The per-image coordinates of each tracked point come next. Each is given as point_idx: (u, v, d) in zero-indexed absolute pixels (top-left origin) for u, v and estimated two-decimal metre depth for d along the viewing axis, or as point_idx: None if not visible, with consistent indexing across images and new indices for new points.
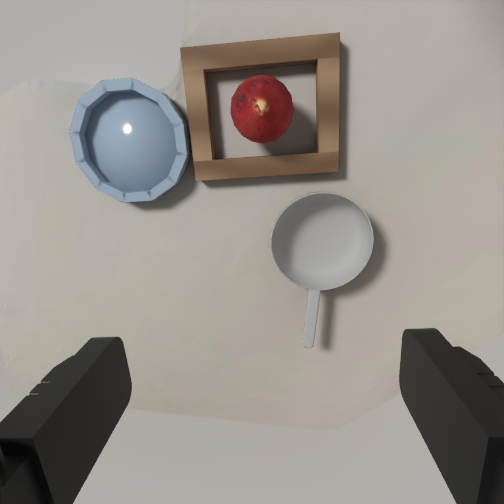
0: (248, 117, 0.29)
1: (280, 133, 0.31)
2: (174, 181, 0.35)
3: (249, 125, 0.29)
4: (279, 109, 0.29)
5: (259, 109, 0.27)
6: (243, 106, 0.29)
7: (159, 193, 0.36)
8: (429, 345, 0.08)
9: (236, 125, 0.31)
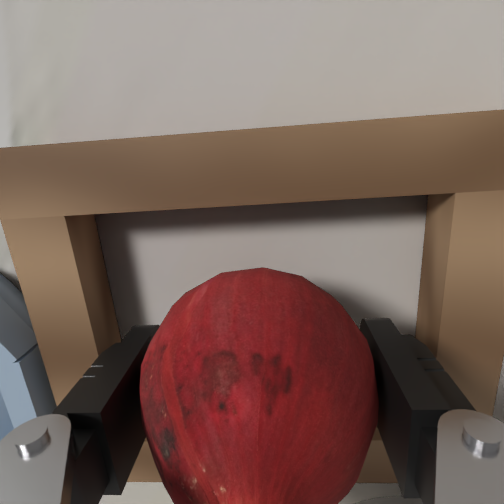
0: None
1: None
2: None
3: None
4: (339, 490, 0.06)
5: None
6: (170, 480, 0.06)
7: None
8: (379, 333, 0.09)
9: None
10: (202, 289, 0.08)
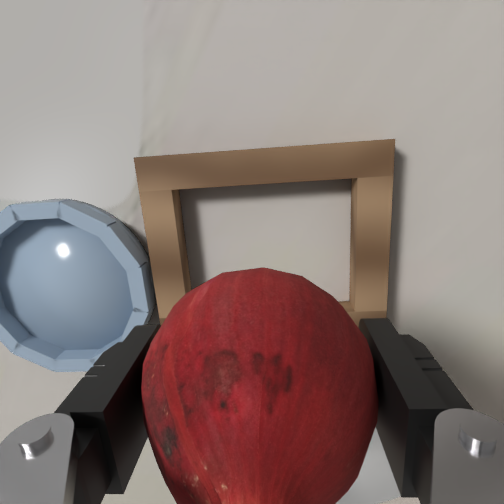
0: None
1: None
2: None
3: None
4: (339, 488, 0.06)
5: None
6: (172, 478, 0.06)
7: None
8: (377, 332, 0.09)
9: None
10: (203, 289, 0.08)
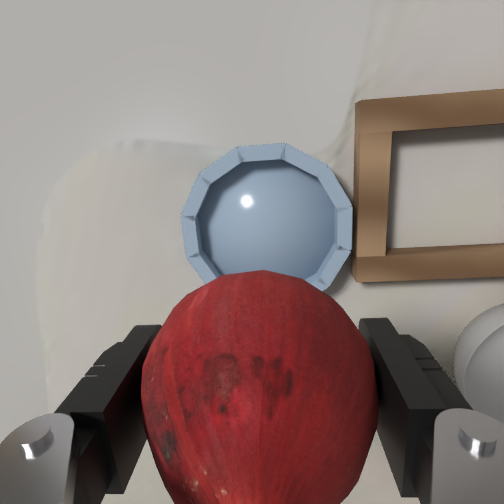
0: None
1: None
2: (327, 284, 0.25)
3: None
4: (339, 492, 0.06)
5: None
6: (171, 483, 0.06)
7: None
8: (377, 332, 0.09)
9: None
10: (203, 291, 0.08)
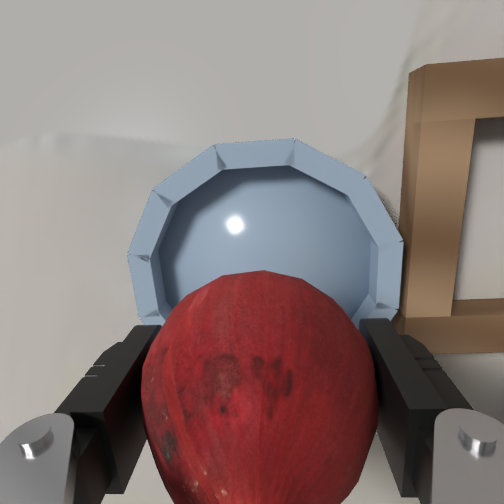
0: None
1: None
2: None
3: None
4: (339, 493, 0.06)
5: None
6: (172, 483, 0.06)
7: None
8: (377, 332, 0.09)
9: None
10: (203, 292, 0.08)
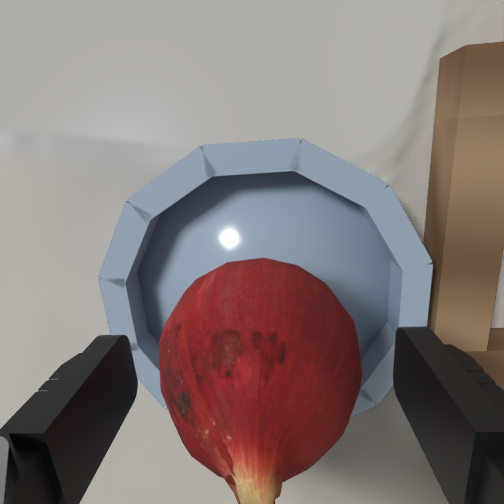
0: (207, 467, 0.08)
1: None
2: (375, 400, 0.13)
3: None
4: (324, 442, 0.08)
5: None
6: (186, 433, 0.07)
7: None
8: (421, 342, 0.08)
9: None
10: (211, 277, 0.09)
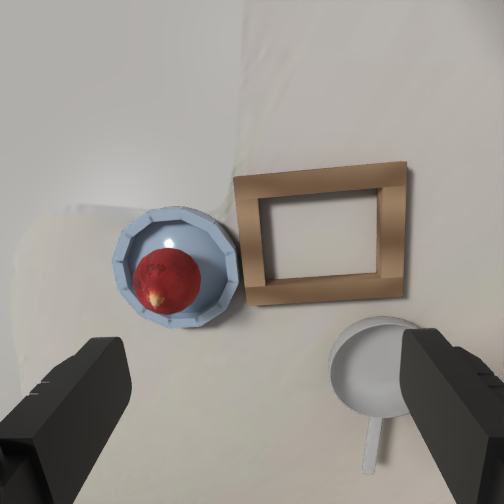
0: (145, 303, 0.27)
1: (187, 306, 0.29)
2: (224, 308, 0.33)
3: (148, 308, 0.28)
4: (177, 295, 0.27)
5: (151, 304, 0.26)
6: (139, 293, 0.27)
7: (207, 319, 0.33)
8: (429, 345, 0.08)
9: None
10: (149, 253, 0.29)
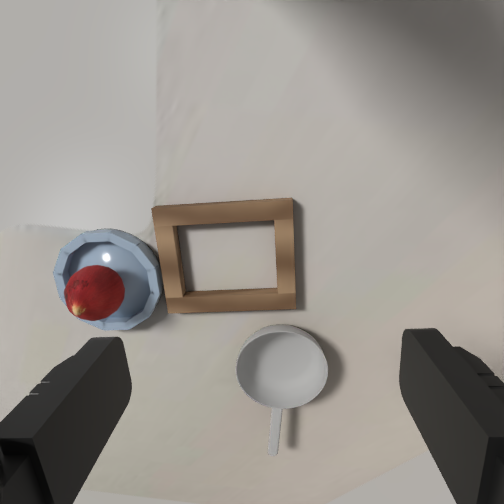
0: (72, 312, 0.33)
1: (110, 314, 0.36)
2: (148, 314, 0.39)
3: (75, 315, 0.34)
4: (98, 305, 0.33)
5: (74, 313, 0.32)
6: (67, 303, 0.33)
7: (135, 324, 0.40)
8: (429, 345, 0.08)
9: None
10: None
